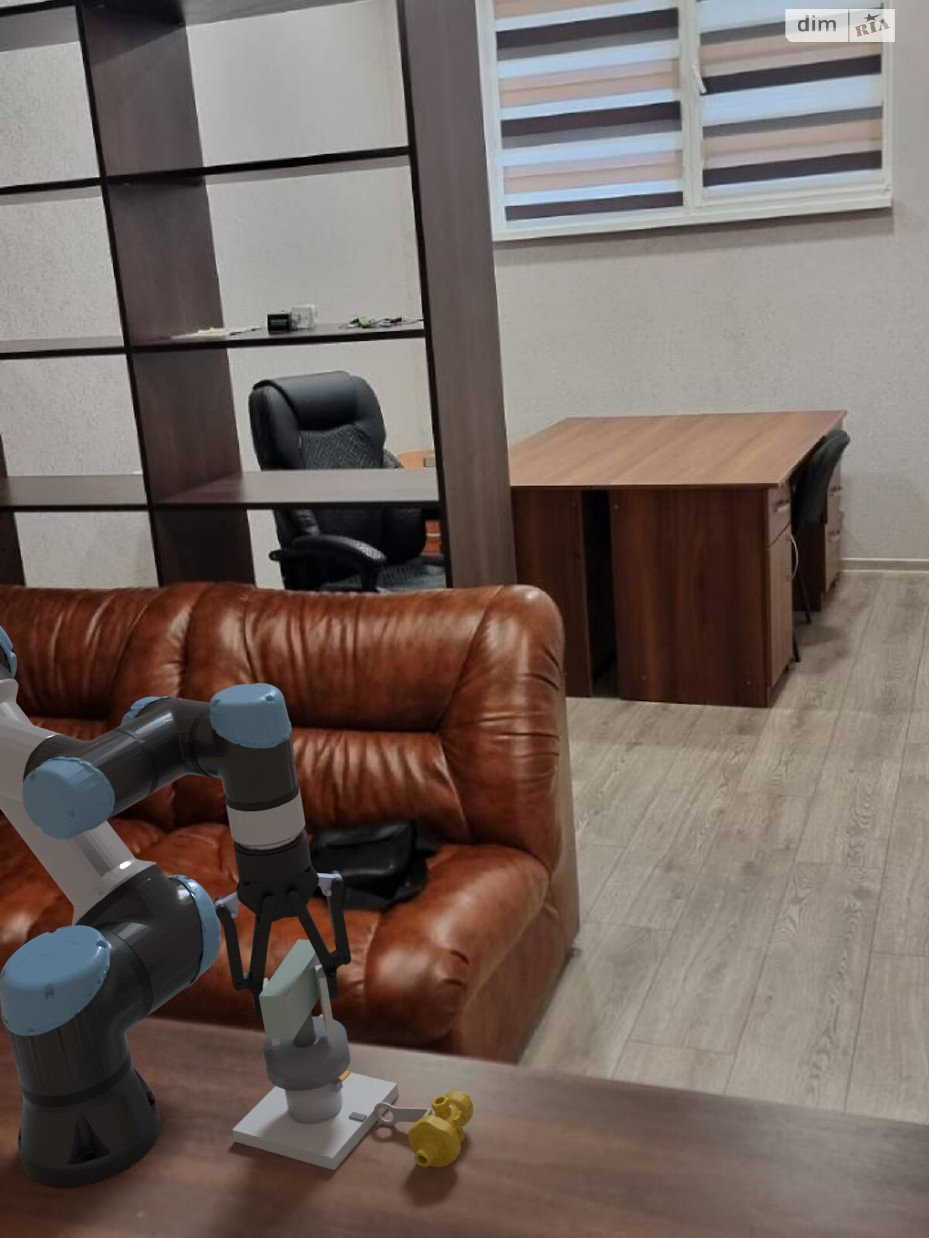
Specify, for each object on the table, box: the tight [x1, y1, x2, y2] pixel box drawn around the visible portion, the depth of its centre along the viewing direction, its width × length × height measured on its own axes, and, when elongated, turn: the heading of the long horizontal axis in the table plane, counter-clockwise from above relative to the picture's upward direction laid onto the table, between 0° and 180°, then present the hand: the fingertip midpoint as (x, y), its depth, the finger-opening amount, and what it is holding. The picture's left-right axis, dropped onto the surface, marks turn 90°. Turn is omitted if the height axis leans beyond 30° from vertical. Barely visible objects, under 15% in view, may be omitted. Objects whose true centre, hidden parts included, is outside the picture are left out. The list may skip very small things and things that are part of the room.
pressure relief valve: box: [374, 1090, 474, 1168], centre depth 142 cm, size 6×12×10 cm
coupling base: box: [232, 1069, 400, 1171], centre depth 148 cm, size 13×13×6 cm
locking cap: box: [259, 939, 351, 1091], centre depth 145 cm, size 12×9×12 cm
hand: (301, 1031), depth 145 cm, fingers closed on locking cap, 5 cm apart
